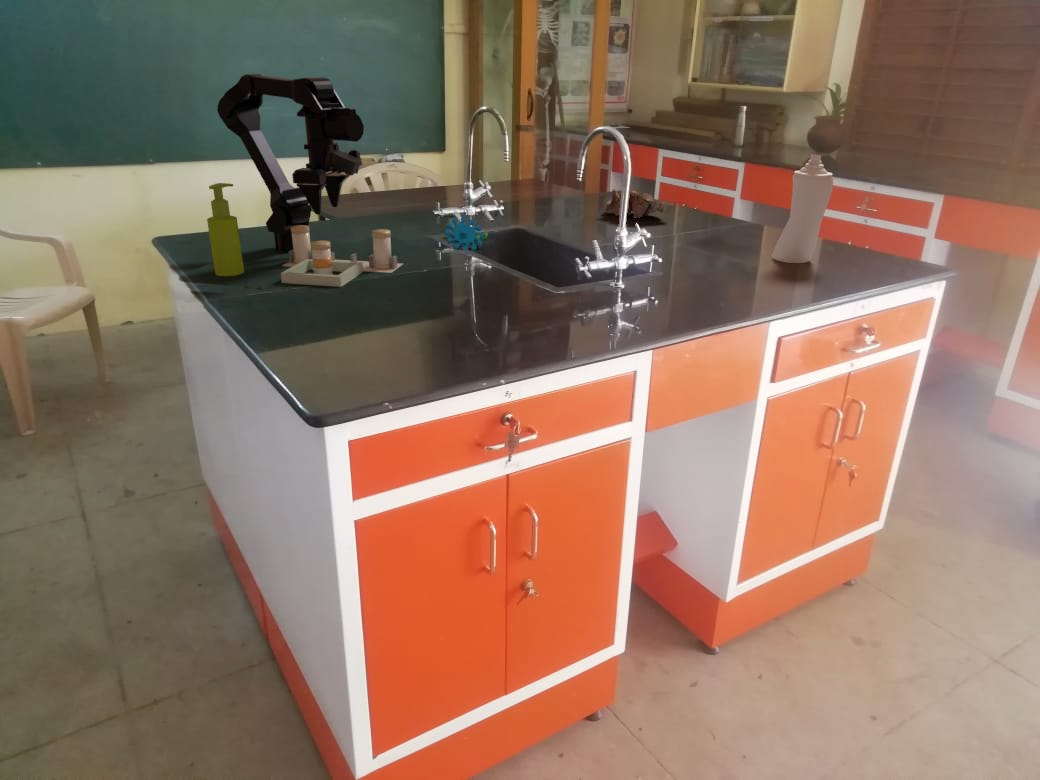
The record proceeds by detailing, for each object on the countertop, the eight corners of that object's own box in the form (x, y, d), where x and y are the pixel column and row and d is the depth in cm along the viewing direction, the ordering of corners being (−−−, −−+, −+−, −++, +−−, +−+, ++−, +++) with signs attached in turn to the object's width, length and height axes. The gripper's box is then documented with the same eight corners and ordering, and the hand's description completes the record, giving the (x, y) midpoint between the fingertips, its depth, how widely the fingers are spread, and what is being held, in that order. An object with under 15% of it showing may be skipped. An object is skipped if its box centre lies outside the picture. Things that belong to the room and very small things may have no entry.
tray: (282, 289, 159) (280, 273, 157) (307, 274, 170) (306, 259, 168) (341, 293, 157) (340, 276, 155) (363, 278, 167) (362, 262, 166)
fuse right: (371, 268, 169) (369, 232, 166) (378, 264, 173) (375, 228, 169) (388, 269, 168) (386, 233, 165) (395, 265, 172) (393, 229, 169)
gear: (445, 247, 188) (444, 213, 192) (441, 260, 193) (440, 226, 197) (489, 251, 191) (487, 217, 194) (484, 263, 196) (482, 230, 200)
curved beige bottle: (822, 258, 188) (840, 152, 178) (818, 268, 179) (837, 157, 169) (773, 253, 193) (788, 149, 183) (767, 262, 184) (782, 154, 174)
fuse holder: (282, 272, 171) (280, 254, 170) (298, 263, 178) (296, 246, 177) (391, 279, 167) (390, 261, 165) (403, 270, 174) (402, 252, 172)
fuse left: (291, 264, 172) (287, 228, 169) (299, 259, 176) (295, 224, 173) (307, 265, 172) (304, 229, 168) (315, 260, 175) (312, 225, 172)
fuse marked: (311, 281, 161) (307, 244, 158) (319, 277, 165) (315, 240, 162) (328, 283, 161) (325, 245, 158) (336, 278, 164) (333, 241, 161)
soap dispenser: (253, 275, 168) (241, 182, 160) (233, 283, 162) (219, 187, 154) (231, 273, 170) (218, 180, 162) (210, 281, 164) (195, 185, 156)
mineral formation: (678, 220, 224) (683, 187, 224) (630, 207, 218) (636, 173, 218) (637, 230, 245) (642, 200, 245) (593, 218, 238) (598, 187, 238)
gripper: (337, 144, 159) (343, 220, 165) (370, 136, 176) (374, 204, 182) (287, 143, 161) (295, 217, 167) (324, 134, 178) (330, 202, 184)
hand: (326, 210), depth 175 cm, fingers open, 9 cm apart
